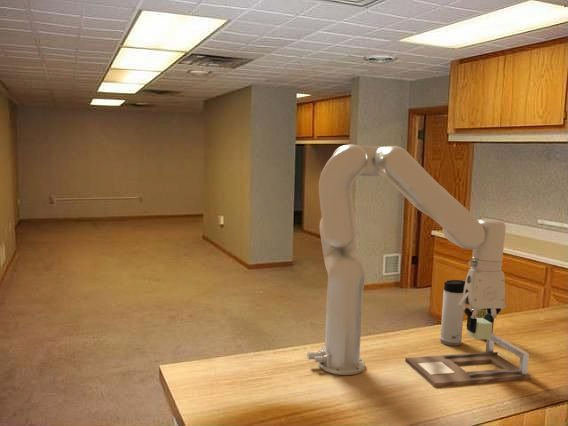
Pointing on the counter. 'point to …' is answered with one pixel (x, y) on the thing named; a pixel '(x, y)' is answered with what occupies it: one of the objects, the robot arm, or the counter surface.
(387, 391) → the counter surface
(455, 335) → the travel mug
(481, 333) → the block
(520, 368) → the gate
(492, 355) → the board
